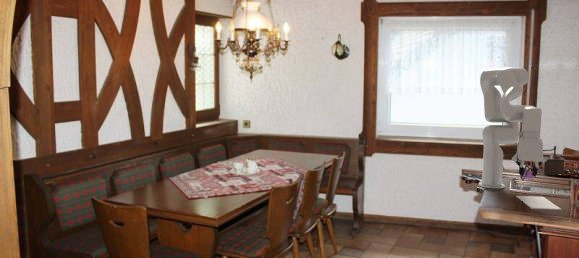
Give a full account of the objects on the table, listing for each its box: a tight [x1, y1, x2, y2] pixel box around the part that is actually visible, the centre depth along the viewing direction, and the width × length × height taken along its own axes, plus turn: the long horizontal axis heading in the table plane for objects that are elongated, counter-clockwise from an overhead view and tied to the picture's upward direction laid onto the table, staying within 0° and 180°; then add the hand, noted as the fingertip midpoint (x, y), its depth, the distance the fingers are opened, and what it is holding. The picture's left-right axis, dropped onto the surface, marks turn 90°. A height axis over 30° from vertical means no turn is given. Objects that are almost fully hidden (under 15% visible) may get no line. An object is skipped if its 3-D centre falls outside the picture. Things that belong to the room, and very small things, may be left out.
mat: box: [516, 195, 562, 211], centre depth 239 cm, size 22×12×1 cm, turn 173°
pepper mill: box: [542, 145, 565, 176], centre depth 309 cm, size 16×11×18 cm
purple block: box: [519, 163, 534, 182], centre depth 236 cm, size 7×5×9 cm
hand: (527, 175), depth 235 cm, fingers closed on purple block, 4 cm apart
